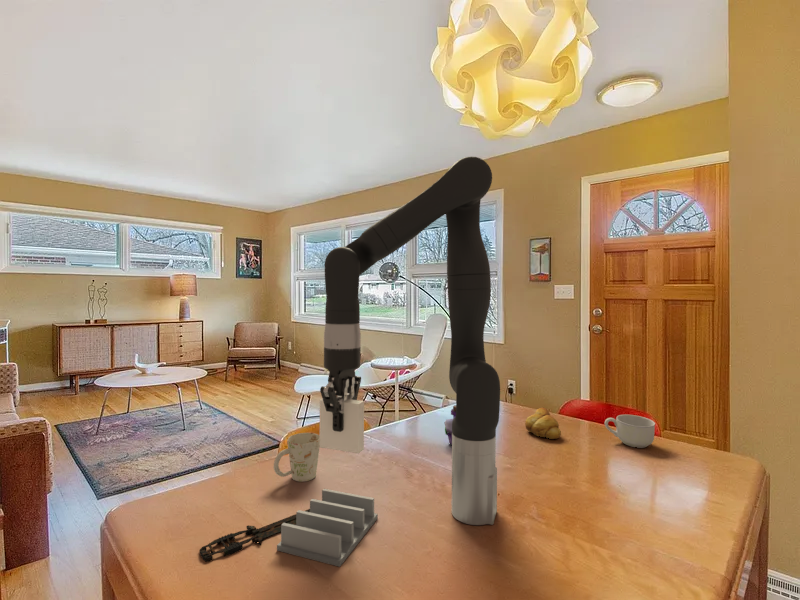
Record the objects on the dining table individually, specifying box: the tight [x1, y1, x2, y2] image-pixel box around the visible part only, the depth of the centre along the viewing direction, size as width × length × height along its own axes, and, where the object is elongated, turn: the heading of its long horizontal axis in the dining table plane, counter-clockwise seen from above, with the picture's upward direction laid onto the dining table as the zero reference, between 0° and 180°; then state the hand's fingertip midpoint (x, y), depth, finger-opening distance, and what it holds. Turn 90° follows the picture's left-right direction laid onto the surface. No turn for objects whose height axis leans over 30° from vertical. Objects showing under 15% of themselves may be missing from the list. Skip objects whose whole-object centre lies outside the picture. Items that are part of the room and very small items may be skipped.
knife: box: [199, 508, 310, 563], centre depth 81 cm, size 25×6×1 cm, turn 126°
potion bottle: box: [444, 404, 456, 446], centre depth 130 cm, size 9×9×12 cm
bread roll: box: [524, 407, 562, 440], centre depth 139 cm, size 13×10×8 cm
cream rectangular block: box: [319, 397, 365, 455], centre depth 85 cm, size 2×9×10 cm, turn 69°
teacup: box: [604, 414, 656, 449], centre depth 131 cm, size 14×11×8 cm
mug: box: [273, 432, 320, 483], centre depth 105 cm, size 8×13×10 cm, turn 137°
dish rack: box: [276, 488, 378, 568], centre depth 81 cm, size 16×13×4 cm
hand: (341, 428), depth 85 cm, fingers closed on cream rectangular block, 2 cm apart
